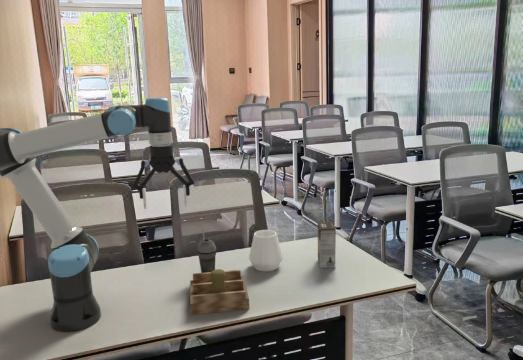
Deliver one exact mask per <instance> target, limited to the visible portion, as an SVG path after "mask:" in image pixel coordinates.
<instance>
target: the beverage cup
mask: <svg viewBox="0 0 523 360" xmlns="http://www.w3.org/2000/svg"><path fill="white" fill-rule="evenodd" d="M201 233H202V238H203V240H201V241H200V242H199V243H198V245H197V249H196V252H197V256H198V260H199V266H200V267H199V268H200V273H207V272H212V271H213V270H216V255H217V246H216V244H215V242H214V241H213V240H212V239H207V238H206V237H205V233H204V228H201ZM205 238H206V239H205Z"/></svg>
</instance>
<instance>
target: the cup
mask: <svg viewBox="0 0 523 360" xmlns="http://www.w3.org/2000/svg"><path fill="white" fill-rule="evenodd" d="M279 241H280V240H279V238H278V234H277V232H276V231H274V230H272V229H262V230H261V229H260V230H256V231H255V232H254V233H253V237H252V241H251V242H252V243H251V246H250V247H251V248H250V251H249V254H248V255H249V257H248V260H249V262H250V263H251V265H252V266H253V268H254V269H255V270H257V271H260V272H271V271H275V270H276V269H278V268H279V266H280V265H281V263H282V261H283V260H284V259H283V258H284V257H283V255H284V254H283V252H282V248H281V245H280V242H279Z"/></svg>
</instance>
